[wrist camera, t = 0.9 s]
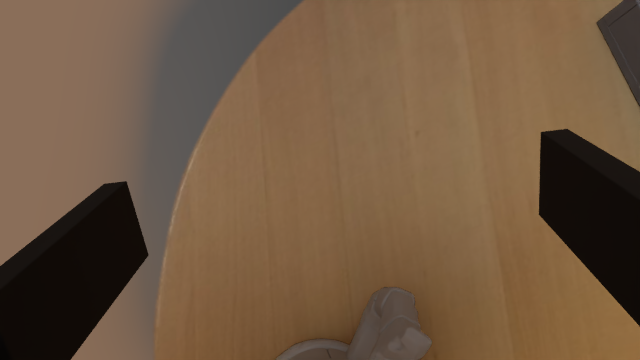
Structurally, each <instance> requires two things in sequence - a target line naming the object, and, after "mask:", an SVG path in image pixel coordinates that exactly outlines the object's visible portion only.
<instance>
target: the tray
mask: <svg viewBox="0 0 640 360" xmlns="http://www.w3.org/2000/svg"><path fill="white" fill-rule="evenodd" d="M597 24H598V26H599V28H600V30H601V32H602V34H603V36H604V38H605V40H606V41H607V43H608V45H609V47H610V49H611V51H612V53H613V55H614V57H615V59H616V61H617V63H618V65H619V67H620V69H621V71H622V73H623V74H624V76H625V78H626V80H627V82H628V84H629V86H630V88H631V90H632V92H633V94H634V96H635V98H636V100H637V102H638V104H639V106H640V0H624V1H622V2H621V3H620V4H619V5H617V6H616V7H615V8H614V9H612V10H611V11H610V12H609V13H607V14H606V15H605V16H604V17H603V18H601V19H600V20H599V21H598V22H597Z"/></svg>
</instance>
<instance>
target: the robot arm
mask: <svg viewBox="0 0 640 360" xmlns="http://www.w3.org/2000/svg"><path fill="white" fill-rule="evenodd" d="M539 215H540V216H541V217H542V218H543V219H544V221H545V222H546V223H547V224H548V225H549V226H550V227H551V228H552V229H553V231H554V232H555V233H556V234H557V235H558V236H559V237H560V238H561V239H562V241H563V242H564V243H565V244H566V245H567V246H568V247H569V248H570V249H571V250H572V252H573V253H574V254H575V255H576V256H577V257H578V258H579V259H580V260H581V262H582V263H583V264H584V265H585V266H586V267H587V268H588V269H589V270H590V272H591V273H592V274H593V275H594V276H595V277H596V278H597V279H598V280H599V282H600V283H601V284H602V285H603V286H604V287H605V288H606V289H607V290H608V292H609V293H610V294H611V295H612V296H613V297H614V298H615V299H616V300H617V302H618V303H619V304H620V305H621V306H622V307H623V308H624V309H625V310H626V312H627V313H628V314H629V315H630V316H631V317H632V318H633V319H634V320H635V322H636V323H637V324H638V325H639V326H640V172H639V171H637V170H636V169H634V168H632V167H631V166H629V165H627V164H625V163H624V162H622V161H620V160H619V159H617V158H615V157H614V156H612V155H610V154H609V153H607V152H605V151H604V150H602V149H600V148H598V147H597V146H595V145H593V144H592V143H590V142H588V141H587V140H585V139H583V138H582V137H580V136H578V135H576V134H575V133H573V132H571V131H570V130H568V129H563V130H554V131H546V132H541V149H540V193H539ZM147 256H148V252H147V248H146V245H145V242H144V238H143V235H142V232H141V228H140V225H139V222H138V218H137V215H136V212H135V208H134V205H133V202H132V198H131V195H130V192H129V188H128V185H127V182H126V181H125V182H117V183H108V184H104V185H102V186H101V187H100V188H99V189H97V190H96V191H95V192H93V193H92V194H91V195H90V196H88V197H87V198H86V199H85V200H83V201H82V202H81V203H80V204H78V205H77V206H76V207H75V208H73V209H72V210H71V211H69V212H68V213H67V214H66V215H64V216H63V217H62V218H61V219H59V220H58V221H57V222H56V223H54V224H53V225H52V226H50V227H49V228H48V229H47V230H45V231H44V232H43V233H42V234H40V235H39V236H38V237H37V238H36V239H34V240H33V241H32V242H30V243H29V244H28V245H26V246H25V247H24V248H23V249H21V250H20V251H19V252H18V253H16V254H15V255H14V256H13V257H11V258H10V259H9V260H8V261H6V262H5V263H4V264H3V265H1V266H0V360H71V358H72V357H73V356H74V354H75V353H76V352H77V350H78V349H79V348H80V346H81V345H82V344H83V342H84V341H85V340H86V338H87V337H88V336H89V334H90V333H91V332H92V330H93V329H94V328H95V326H96V325H97V324H98V322H99V321H100V319H101V318H102V317H103V316H104V314H105V313H106V312H107V310H108V309H109V307H110V306H111V305H112V303H113V302H114V301H115V299H116V298H117V297H118V295H119V294H120V293H121V291H122V290H123V289H124V287H125V286H126V285H127V283H128V282H129V281H130V279H131V278H132V277H133V275H134V274H135V273H136V271H137V270H138V269H139V267H140V266H141V265H142V263H143V262H144V261H145V259H146V258H147Z"/></svg>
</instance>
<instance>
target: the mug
mask: <svg viewBox="0 0 640 360" xmlns="http://www.w3.org/2000/svg"><path fill="white" fill-rule="evenodd" d="M431 344H432V340H431V339H430V338H429V337H428V336H427V335H426V334H424V333H423V332H421V327H420V324H419V322H418V311H417V310H416V308H415V298H414V295H413V294H412V293H411V292H408V291H406V290H404V289H401V288H399V287H389V288H388V287H384V288H382V289H380V290H378V291H376V292H375V293H374V294H372V296H371V297H370V299H369V302H368V304H367V306H366V308H365V309H364V312H363V314H362V317H361V320H360V323H359V325H358V328H357V330H356V333H355V335H354V337H353V339H352V342H351V344H350V345H348V344H346V343H343V342H340V341H337V340H332V339H312V340H307V341H304V342H301V343H297V344H295V345H293V346H292V347H290V348H289V349H287V350H286V351H284V352H283V353H282V354H281V355H279V356H278V357H277V358H276V359H275V360H419V359H420V358H422V357H423V356H424V355H425V354H426V353H427V351H428V350H429V348H430V346H431Z"/></svg>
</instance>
